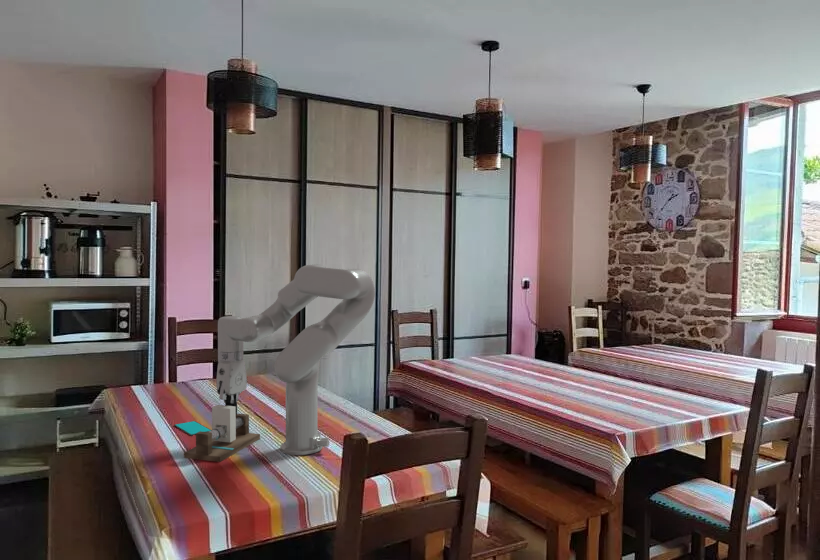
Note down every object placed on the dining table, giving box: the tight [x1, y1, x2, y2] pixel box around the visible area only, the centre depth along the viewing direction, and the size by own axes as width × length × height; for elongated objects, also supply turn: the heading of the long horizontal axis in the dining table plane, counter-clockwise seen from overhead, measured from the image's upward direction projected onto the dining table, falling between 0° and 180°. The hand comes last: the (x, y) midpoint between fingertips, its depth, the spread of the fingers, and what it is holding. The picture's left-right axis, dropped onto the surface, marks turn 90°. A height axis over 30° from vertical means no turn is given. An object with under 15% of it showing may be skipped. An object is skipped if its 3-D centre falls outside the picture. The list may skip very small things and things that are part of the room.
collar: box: [211, 404, 236, 442], centre depth 180 cm, size 6×3×10 cm, turn 74°
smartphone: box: [173, 420, 212, 437], centre depth 199 cm, size 7×1×15 cm
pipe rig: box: [183, 413, 261, 463], centre depth 180 cm, size 12×22×8 cm, turn 164°
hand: (231, 414), depth 183 cm, fingers closed
